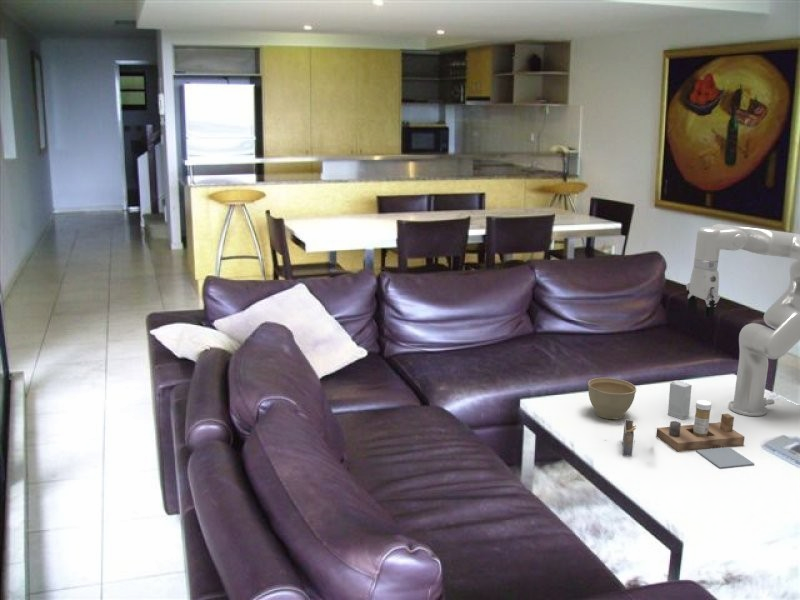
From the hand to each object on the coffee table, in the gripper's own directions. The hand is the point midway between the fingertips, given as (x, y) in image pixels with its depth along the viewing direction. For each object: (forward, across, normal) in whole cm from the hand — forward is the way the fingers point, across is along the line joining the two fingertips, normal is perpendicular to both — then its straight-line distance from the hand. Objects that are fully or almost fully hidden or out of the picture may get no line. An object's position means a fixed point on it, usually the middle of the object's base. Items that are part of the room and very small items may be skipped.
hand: (699, 314), depth 267 cm
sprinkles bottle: (+37, -20, +9) cm, 43 cm away
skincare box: (+37, 0, +4) cm, 37 cm away
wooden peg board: (+37, -20, +9) cm, 43 cm away
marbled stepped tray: (+37, -20, +35) cm, 55 cm away
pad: (+37, -33, +9) cm, 50 cm away
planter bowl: (+37, +6, +27) cm, 46 cm away
